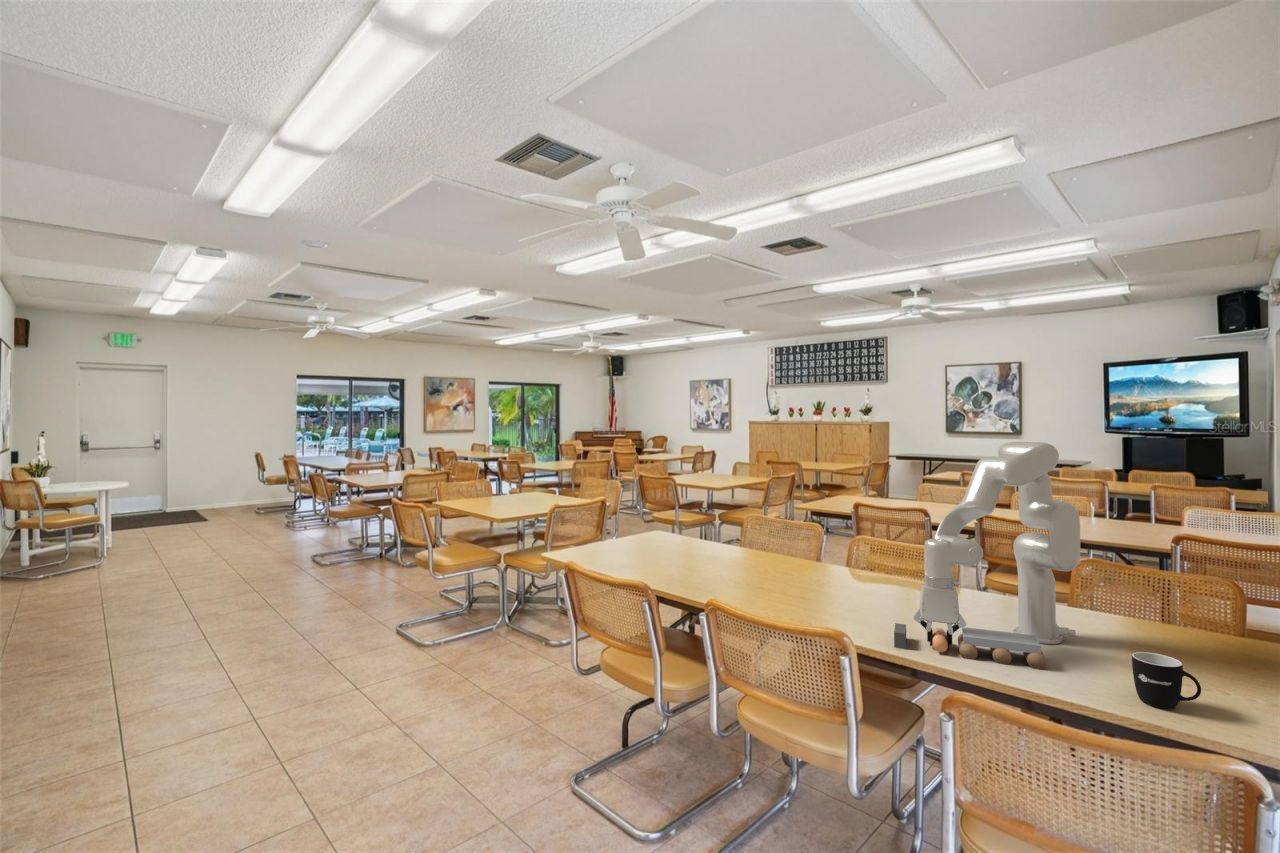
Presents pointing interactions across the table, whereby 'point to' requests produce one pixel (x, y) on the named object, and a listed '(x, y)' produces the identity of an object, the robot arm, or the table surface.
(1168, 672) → the mug
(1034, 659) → the roller
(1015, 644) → the slab
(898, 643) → the block
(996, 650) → the roller mid
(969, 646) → the roller
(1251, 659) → the table surface
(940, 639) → the roller
